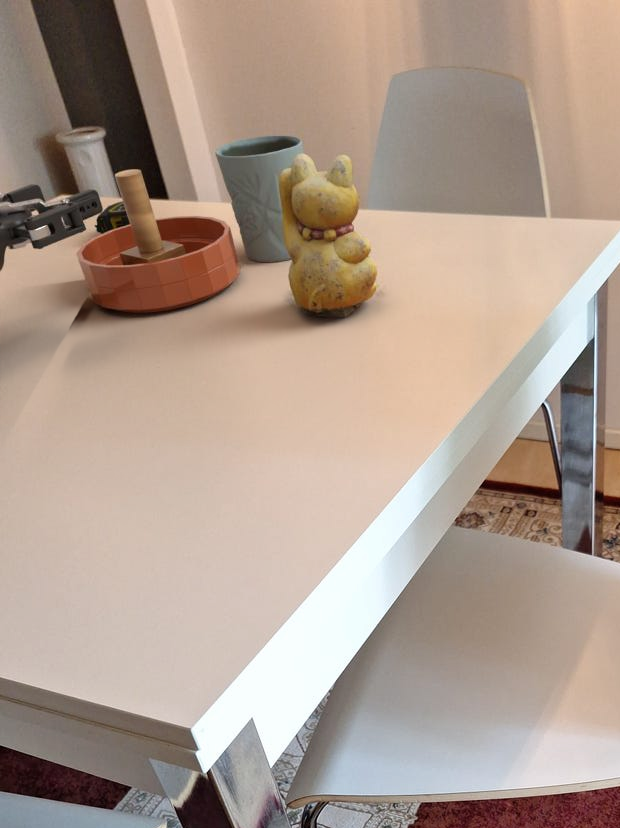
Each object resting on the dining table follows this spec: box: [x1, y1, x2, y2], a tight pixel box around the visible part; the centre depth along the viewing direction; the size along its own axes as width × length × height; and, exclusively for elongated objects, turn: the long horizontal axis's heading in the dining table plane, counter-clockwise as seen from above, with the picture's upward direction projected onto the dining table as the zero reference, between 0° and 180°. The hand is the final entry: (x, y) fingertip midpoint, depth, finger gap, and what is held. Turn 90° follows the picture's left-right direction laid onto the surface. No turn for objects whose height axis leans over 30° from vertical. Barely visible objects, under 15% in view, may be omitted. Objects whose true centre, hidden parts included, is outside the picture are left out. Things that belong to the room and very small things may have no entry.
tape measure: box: [94, 200, 130, 235], centre depth 125 cm, size 7×7×4 cm
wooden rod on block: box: [114, 168, 186, 265], centre depth 104 cm, size 5×5×12 cm
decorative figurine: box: [279, 152, 378, 318], centre depth 94 cm, size 10×8×15 cm
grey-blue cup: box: [214, 135, 304, 263], centre depth 112 cm, size 10×10×12 cm
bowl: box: [75, 215, 241, 314], centre depth 107 cm, size 17×17×6 cm
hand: (68, 197), depth 95 cm, fingers open, 8 cm apart
